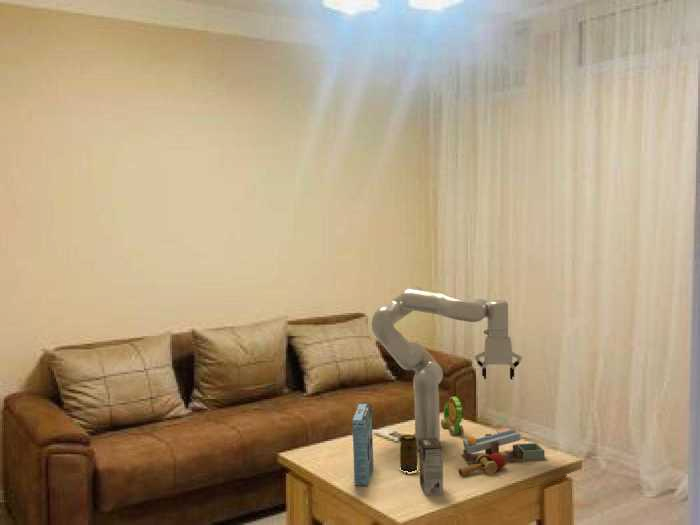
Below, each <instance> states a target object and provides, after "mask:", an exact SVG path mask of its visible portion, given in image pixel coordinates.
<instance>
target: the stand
mask: <svg viewBox="0 0 700 525" xmlns="http://www.w3.org/2000/svg"><path fill="white" fill-rule="evenodd" d="M489 435H493V434H492V433H485V436H489ZM485 436H484V437H485ZM484 451H485V452H475V453H471V454H468V453H467V451H466V450H465V449H462V453H461V458H462V459H463V460H464V462H465V463H466V465H468V466H471V465H475V464H477V462H476V460H477V458H478V456H480V455H482V454H484V455H486V456H487V457H488V458H489V456H490V455H491V454H493V453H500V454H501V455H503V457H504V459H505V463H518V462H519V463H520V462H525V461H524V460H523V458H522V457H521V449H520V448H519V446H518V445H516V444H512V450H511V451H500V446H499V442H498V441H492V448H490V449H486V450H484Z"/></svg>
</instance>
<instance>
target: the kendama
mask: <svg viewBox="0 0 700 525" xmlns="http://www.w3.org/2000/svg"><path fill="white" fill-rule="evenodd" d="M476 462H477V464H470V465H468V466H463V467H459V468H458V469H457V470H458V471H457V472H458V475H459V476H460V477H461V478H463V477H465V476H467V475H470V474H472V473H474V472H477V471H479V470H481V469H482V468H484V469H483V470H484V472H485V473H486V474H487V475H493V474H495V473H496V472H497V471H500V470H502V469H503V468H504V467H505V465H506V462H505V459H504V457H503V455H501V454H500V453H493V454H491V455H490V456H489V458H488V457H487V456H486V455H484V454H482V455H480V456H478V458H477V460H476Z"/></svg>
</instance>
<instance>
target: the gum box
mask: <svg viewBox="0 0 700 525" xmlns="http://www.w3.org/2000/svg"><path fill="white" fill-rule="evenodd" d="M372 413H373V412H372V404H370V403H359V404H358V406H357V408H356V411H355V413H354V415H353V418H352V420H351V421H352V439H353V440H352V444H353V445H352V446H353V447H352V448H353V449H352V451H353V475H354V476H353V477H354V480H353V484H355V485H354V486H356V485H368V486H369V484H370V478H371V475H372V472H373V467H374V447H373V446H374V443H373V418H372V417H373V416H372V415H373V414H372ZM371 471H372V472H371Z"/></svg>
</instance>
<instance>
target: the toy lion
mask: <svg viewBox="0 0 700 525" xmlns="http://www.w3.org/2000/svg"><path fill="white" fill-rule="evenodd" d="M462 419H463V407H462V404H461V402H460V400H459V398H458V397H457V396H451V397H449V399H448V401H447V403H445V404H444V407H443V418H442V419H441V420H440V424H441V425H440V426H441V428H442V429H446V428H447V427H449V428H448V432H449V435H450V436H455V434H456V435H457V434H458V435H464V433H465V432H464V430H465V429H464V426H463V425H461V423H462Z"/></svg>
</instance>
